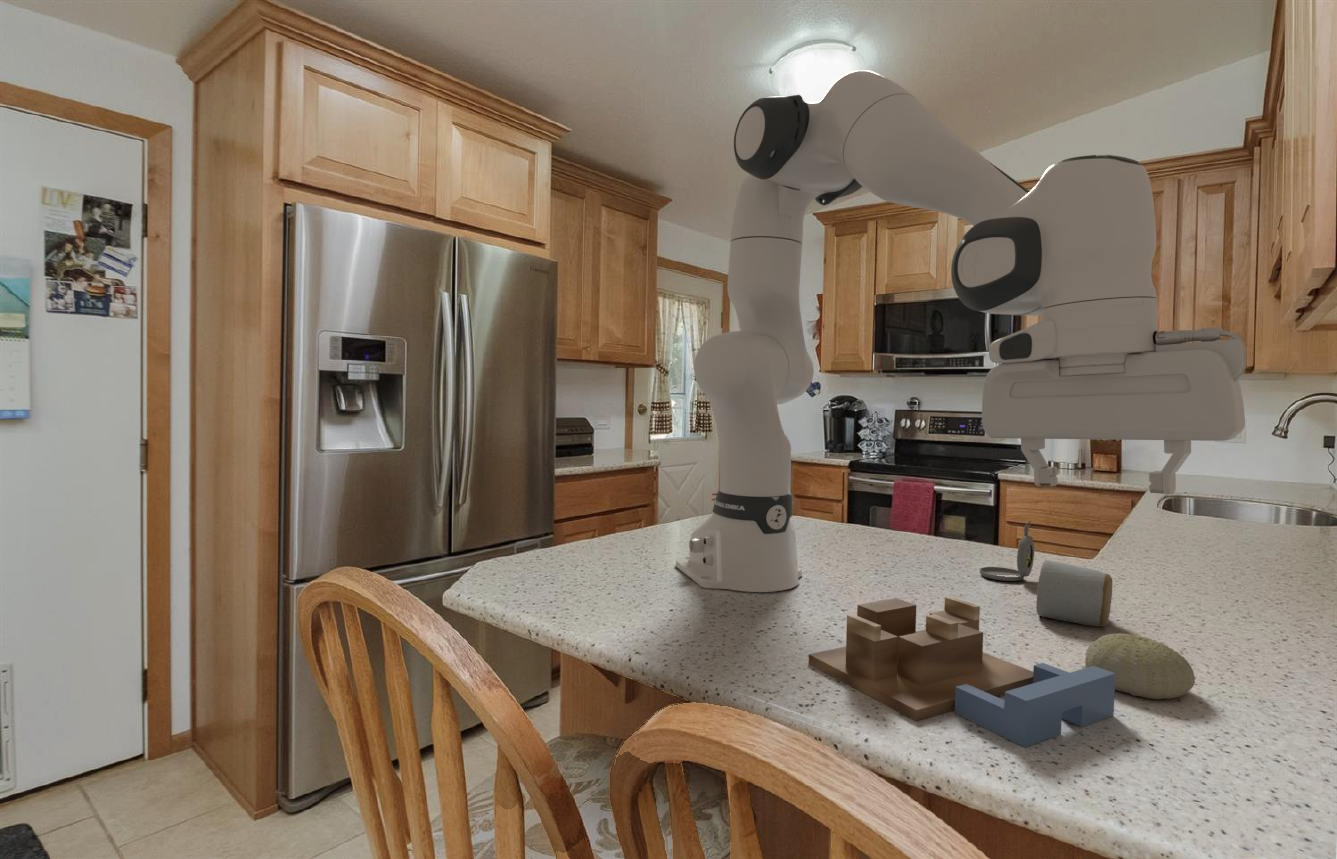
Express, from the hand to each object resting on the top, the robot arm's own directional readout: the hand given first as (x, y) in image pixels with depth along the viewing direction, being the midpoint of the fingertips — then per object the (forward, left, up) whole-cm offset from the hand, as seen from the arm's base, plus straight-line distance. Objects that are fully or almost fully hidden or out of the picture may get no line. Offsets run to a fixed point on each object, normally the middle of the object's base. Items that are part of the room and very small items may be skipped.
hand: (1100, 489), depth 62 cm
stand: (-14, -7, -21) cm, 26 cm away
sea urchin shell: (-2, +11, -22) cm, 25 cm away
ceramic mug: (-18, +27, -22) cm, 39 cm away
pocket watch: (-35, +37, -21) cm, 56 cm away
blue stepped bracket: (-3, -5, -21) cm, 22 cm away
